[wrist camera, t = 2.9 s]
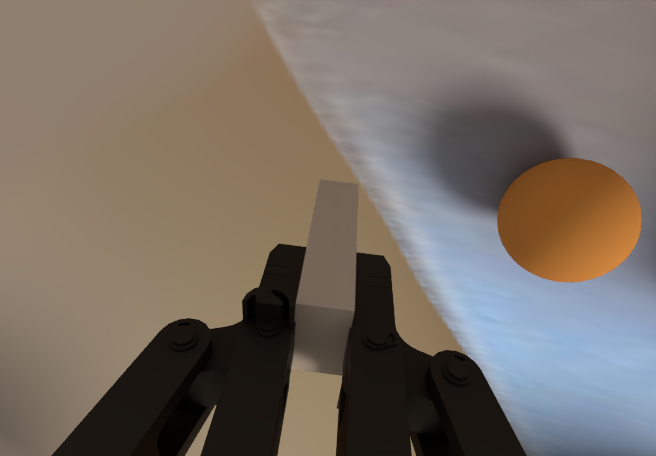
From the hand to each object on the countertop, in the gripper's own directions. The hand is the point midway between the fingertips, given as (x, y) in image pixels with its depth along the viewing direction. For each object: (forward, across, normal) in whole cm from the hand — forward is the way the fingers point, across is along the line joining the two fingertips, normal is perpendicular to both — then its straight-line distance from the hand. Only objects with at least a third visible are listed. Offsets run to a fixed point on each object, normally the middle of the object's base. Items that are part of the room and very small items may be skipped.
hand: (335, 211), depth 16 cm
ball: (+2, -10, 0) cm, 10 cm away
